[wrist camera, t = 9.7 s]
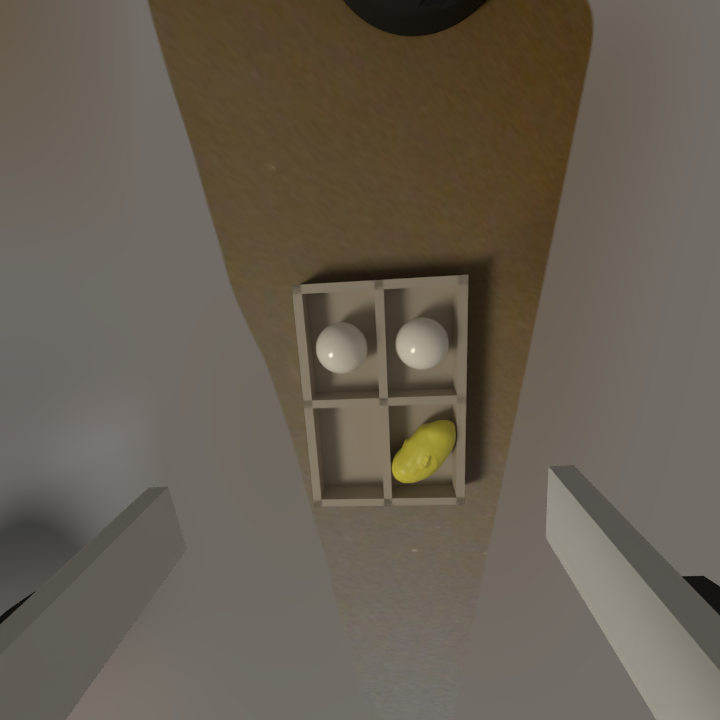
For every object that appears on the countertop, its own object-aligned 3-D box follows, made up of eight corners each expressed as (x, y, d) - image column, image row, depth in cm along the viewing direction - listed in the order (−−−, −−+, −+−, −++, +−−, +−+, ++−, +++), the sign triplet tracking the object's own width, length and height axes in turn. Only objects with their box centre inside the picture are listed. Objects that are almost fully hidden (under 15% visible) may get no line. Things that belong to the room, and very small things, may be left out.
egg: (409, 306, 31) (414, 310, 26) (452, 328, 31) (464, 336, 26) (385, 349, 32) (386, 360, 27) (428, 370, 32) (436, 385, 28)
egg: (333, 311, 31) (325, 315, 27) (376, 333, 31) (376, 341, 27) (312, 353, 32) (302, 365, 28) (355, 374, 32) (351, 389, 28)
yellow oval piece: (379, 454, 34) (379, 475, 31) (436, 403, 33) (444, 418, 29) (407, 480, 35) (411, 504, 31) (465, 431, 33) (476, 450, 29)
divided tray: (299, 284, 31) (291, 285, 29) (460, 275, 30) (468, 274, 28) (319, 489, 36) (314, 506, 34) (457, 487, 35) (464, 504, 33)
